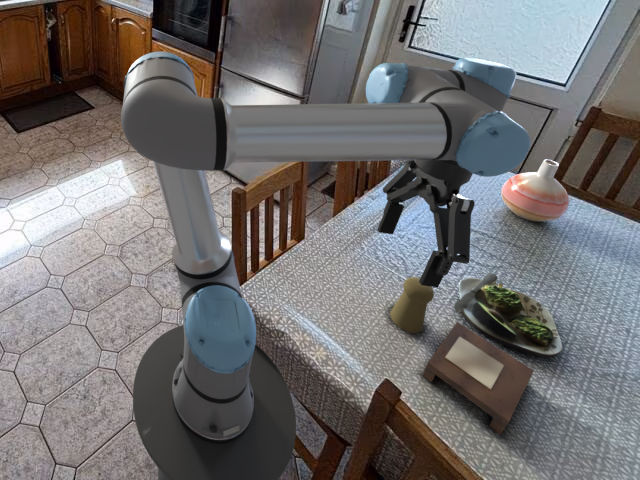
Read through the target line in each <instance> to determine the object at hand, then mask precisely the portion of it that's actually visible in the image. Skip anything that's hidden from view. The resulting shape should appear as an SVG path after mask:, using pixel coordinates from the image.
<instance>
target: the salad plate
mask: <svg viewBox="0 0 640 480" xmlns="http://www.w3.org/2000/svg"><path fill="white" fill-rule="evenodd" d="M497 280H498V276H497V274H495V273H493V272H488V273H487V274H486V275H485V276H484V277H483V278H477V277H464V278H462V279H460V280H459V283H458V293H459V299H458V300H456V302H455V303H454V305H453V309H454V311H455V313H459V315H461V316H462V317H463V318H465V319H466V321H467V322H468V323H469V324H470V325H471V327H473V328H474V329H475V330H476V331H477V332H479V334H482V335H483V336H485V337H486V338H488V339H489V340H492V341H494V342H497V344H498V343H499V344H500V345H502V346H506V347H507V348H510V349H512V350H515V351H517V352H519V353H522V354H526V355H530V356H534V357H539V358H540V357H541V358H544V359H545V358H554V357H556V356H558V355H559V354H560V353H561V352H562V351H563V348H564V347H563V342H562V340H561V336H560V334H559V331H558V329H557V326H556V322H555V320H554V318H553V316H552V314H551V312H550V311H549V310H548V309H547V308H546V307H545V305H543V304H542V303H541V302H539V301H538V300H536V299H535V298H533V297H531V296H530V295H528V294H525V293H523V292H520V291H517V290H513V289H512V288H507V287H504V286H503V285H504V284H503V283H497Z"/></svg>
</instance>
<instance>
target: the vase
mask: <svg viewBox="0 0 640 480" xmlns="http://www.w3.org/2000/svg"><path fill="white" fill-rule="evenodd" d="M559 166H560V164H559V163H558V162H556V161H554V160H552V159H543V161H542V163H541V165H540V166H539V168H538V170H537V171H532V172H531V171H528V172H521V173H518V174H515V175H512V176H511V177H509V178H508V179H507V180H506V181H505V182H503V185H502V186H501V189H500V196H501V199H502V201H503V203H504V204H505V206H506V207H507V208H508V209H509V210H510V211H511V212H512V213H513V215H516V216H518V217H519V218H521V219H524V220H527V221H530V222H551V221H555V220H558V219H560V218H562V217H563V216H564V215H565V214H566V213H567V211H568V209H569V207H570V197H569V194H568V192H567V189H566V188H565V187H564V185H562V183H560V181H558V180H557V179H556V178H555V175H556V173H557V171H558V169H559Z"/></svg>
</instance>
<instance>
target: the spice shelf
mask: <svg viewBox="0 0 640 480" xmlns="http://www.w3.org/2000/svg"><path fill="white" fill-rule="evenodd" d="M534 371H535V370H534V369H532V368H531V367H529V366H528V365H526V364H524V363H523V362H521V361H520V360H518V359H517V358H515V357H514V356H512V355H510V354H509V353H507V352H506V351H505V350H502V349H501V348H499V346H497V345H495V344H493V343H492V342H490V341H489V340H487V339H486V338H484V337H482V336H481V335H480V334H477V333H476V332H474V331H473V330H471V328H470V329H469V328H468V327H467V326H465V325H464V324H462V323H460V322H459V321H456V322H455V324H454V325H453V327H452V329H451V330H450V331H449V333H448V334H447V335H446V336H445V338H444V339H443V341H442V342H441V344H440V345H439V347H438V348H437V349H436V350H435V352H434V354H433V355H432V356H431V358H430V359H429V360H428V362H427V364H426V366H425V368H424V370H423V372H422V374H421V376H422V377H423V378H425V379H426V380H427V381H429V382H430V383H432V382H433V381H434V379H435V378H436V377H438V378H439V379H441V380H442V381H444V382H445V383H446V384H447V385H448V386H451V388H453V389H455V390H456V391H457V392H458V393H460V394H461V395H462V396H464V397H465V398H466V399H468V400H469V401H471V402H472V404H474V405H476V406H477V407H478V408H480V409H481V410H482V411H484V412H485V413H486V414H488V415H489V416H491V417H492V419H491V421H490V423H489V425H488V427H489V428H490V429H491V430H493V431H495V432H496V433H497V434H498V435H501V434H502V433H503V431H504V430H505V429H506V427H507V426H508V424H509V422H510V421H511V419H512V416H513V415H514V414H515V413H514V412H515V411H516V408H517V406H518V405H519V402H520V400H521V398H522V396H523V395H524V393H525V390H526V389H527V386H528V384H529V382H530V379H531V378H532V376H533V375H534Z"/></svg>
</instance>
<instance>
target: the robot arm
mask: <svg viewBox="0 0 640 480" xmlns="http://www.w3.org/2000/svg"><path fill="white" fill-rule="evenodd" d="M516 78H517V72H516V70H515V69H513V68H512V67H510V66H509V65H506V64H502V63H498V62H495V61H490V60H486V59H479V58H475V57H461V58H458V59H457V61H456V62H455V64H454V66H453V67H452V69H441V68H436V67H435V68H434V67H427V66H420V65H414V64H413V65H412V64H407V63H406V62H401V63H397V62H384V63H380V64H379V65H377V66H375V67H374V68H373V69H372V70H371V72H370V73H369V76H368V79H367V80H366V83H365V97H366V100H367V102H366V103H307V104H306V103H304V104H300V103H299V104H298V103H297V104H238V105H237V104H236V105H235V104H230V103H229V102H228V101H227V100H226V99H224V97H202V96H199V95H198V92H197V87H196V84H195V75H194V72H193V71H192V69H191V67H190V66H189V64H188V63H187V62H186V61H185V60H184V59H183V58H182V57H180V56H179V55H177V54H175V53H173V52H172V53H171V52H169V51H153V52H149V53H145V54H143V55H142V56H140V57H138V59H136V60H135V61H134V62H133V63H132V64H131V65H130V67H129V69H128V72H127V73H126V75H125V76H124V81H123V89H124V93H123V100H122V101H123V102H122V107H121V112H120V113H121V114H120V123H121V129H122V132H123V134H124V137H125V138H126V140H127V142H128V143H129V145H130V146H131V147H132V148H133V149H134V150H135V151H136V152H137V153H138V154H140V155H141V156H143V157H144V158H146V159H148V160H150V161H151V162H152V164H153V168H154V171H155V175H156V178H157V182H158V185H159V189H160V192H161V195H162V198H163V199H162V200H163V202H164V207H165V210H166V212H167V216H168V220H169V223H170V227H171V230H172V233H173V236H174V240H175V241H174V243H173V245H172V249H171V257H172V260H173V263H174V267H175V271H176V273H177V277H178V282H179V289H180V290H179V291H180V300H181V302H180V303H181V313H182V325H183V326H184V353H181V354H180V356H181V357H182V358H183V359H182V361H181V362H180V363H179V365H178V367H177V369H176V371H175V373H174V376H173V381H172V400H173V405H174V408H175V411H176V413H177V415H178V417H179V419H180V420H181V422H182V423H183V425H184V426H185V427H186V428H187V429H188V430H189V431H190V432H191V433H192V434H194V435H195V436H197V437H198V438H200V439H202V440H204V441H207V442H211V443H217V444H222V443H228V442H231V441H234V440H236V439H237V438H239V437H240V436H241V435H242V434H244V432H245V431H246V430H247V428H248V427H249V425H250V422H251V419H252V415H253V410H254V395H253V390H252V386H251V383H250V380H249V372H250V367H251V361H252V356H253V352H254V349H255V345H257V325H256V318H255V315H254V312H253V310H252V308H251V306H250V304H249V303H248V302H247V300H246V299H245V298H243V294H242V290H241V286H240V282H239V277H238V273H237V268H236V265H235V264H236V263H235V256H234V253H233V250H232V247H231V242H230V241H229V239H228V237H227V236H226V235H225V234H224V232H221V231H220V230H219V224H218V221H217V216H216V211H215V207H214V203H213V199H212V195H211V190H210V186H209V181H208V177H207V174H206V173H207V172H211V171H215V172H216V171H218V172H219V171H226V170H227V169H228V168H229V167H230V166H232V164H234V163H299V162H300V163H301V162H302V163H303V162H306V163H308V162H312V163H313V162H383V161H384V162H385V161H388V162H390V161H405V163H404V165H403V168H401V169H400V171H399V172H397V173H396V174H395V175H394V176H393V178H391V180H389V181H388V182H387V183H386V184H385V185H384V186H383V188H382V192H383V194H386V203H385V207H384V209H383V213H382V217H381V219H380V222H379V224H378V227H377V230H376V231H377V232H378V233H381V234H388V235H394V233H395V231H396V228H397V225H398V223H399V222H400V221H399V220H400V218H401V217H402V213H403V212H404V209H405V206H404V205H403V204H406V202H407V201H409V200H410V199H413V198H415V197H418V196H419V198H422V199H423V200H424V202H425V203H426V204H427V205H429V210H430V212H431V213H433V214H432V215H433V221H434V222H433V223H434V229H435V239H436V245H437V246H436V247H437V250H432V252H431V254H430V256H429V259H428V260H427V263H426V265H425V267H424V270H423V272H422V274H421V276H420V277H419V278H420V280H419V283H420V284H421V285H424V286H430V287H432V288H439V286H440V284H441V282H442V280H443V278H444V276H447V275H448V274H449V272H450V271H451V268H452V266H453V264H454V263H459V264H465V265H466V264H469V263H470V258H471V257H470V256H471V255H470V254H471V228H472V227H471V226H472V225H471V224H472V214H473V210H474V208H475V200H474V199H472V198H467V197H464V196H463V195H461V194H460V190H461V187H462V186H464V185H465V184H467V183H469V182H470V181H471V178H472V176H473V175H476V176H479V177H483V178H484V177H485V178H486V177H487V178H491V177H492V178H493V177H497V176H501V175H504V174H507V173H509V172H511V171H513V170H514V169H516V168H517V167H518V166H519V165H521V164H522V163H523V162H524V161H525V160H526V157H527V154H528V153H529V152H530V151H529V150H530V149H531V143H532V141H531V137H530V135H529V133H528V131H527V130H526V129H525V128H524V127H523V126H522V125H520V124H519V123H517V122H516V121H514V120H513V119H512V118H510V117H509V116H508V115H507V113H505V112H504V111H503V110H504V108H505V106H506V104H507V101H508V100H509V99H510V98H511V94H512V91H513V88H514V85H515V81H516ZM444 206H446V207H444Z"/></svg>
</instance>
